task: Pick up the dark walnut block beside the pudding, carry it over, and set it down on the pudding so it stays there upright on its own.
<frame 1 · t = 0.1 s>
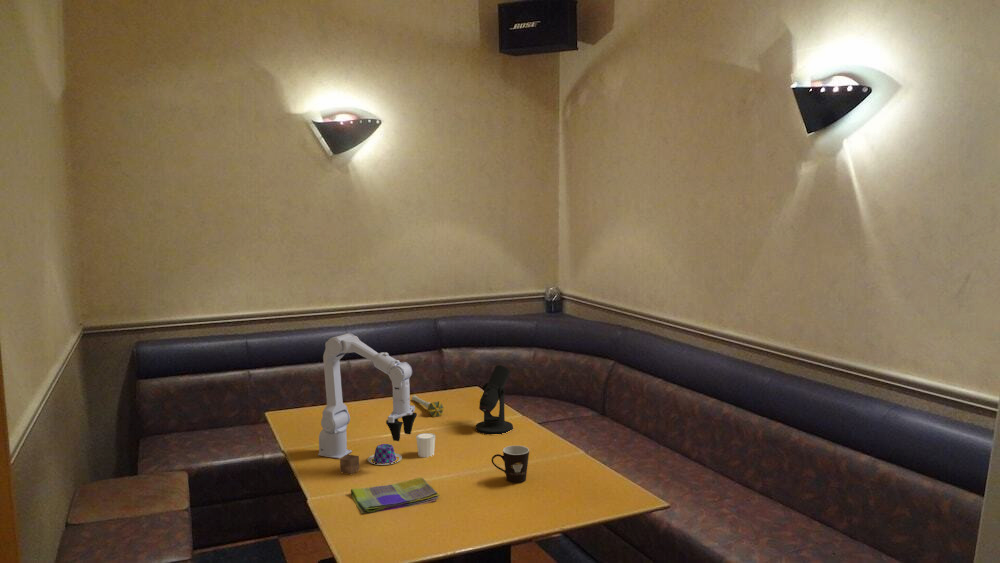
hand: (402, 437, 250), 10 cm above the table, tool pointing down, fingers open, 7 cm apart
light stick: (426, 409, 317), on the table
walnut block: (349, 471, 245), on the table
microphone: (494, 429, 289), on the table
coffee mug: (511, 479, 238), on the table
white tapered cup: (426, 455, 261), on the table
dish towel: (394, 499, 225), on the table
pudding: (384, 461, 256), on the table
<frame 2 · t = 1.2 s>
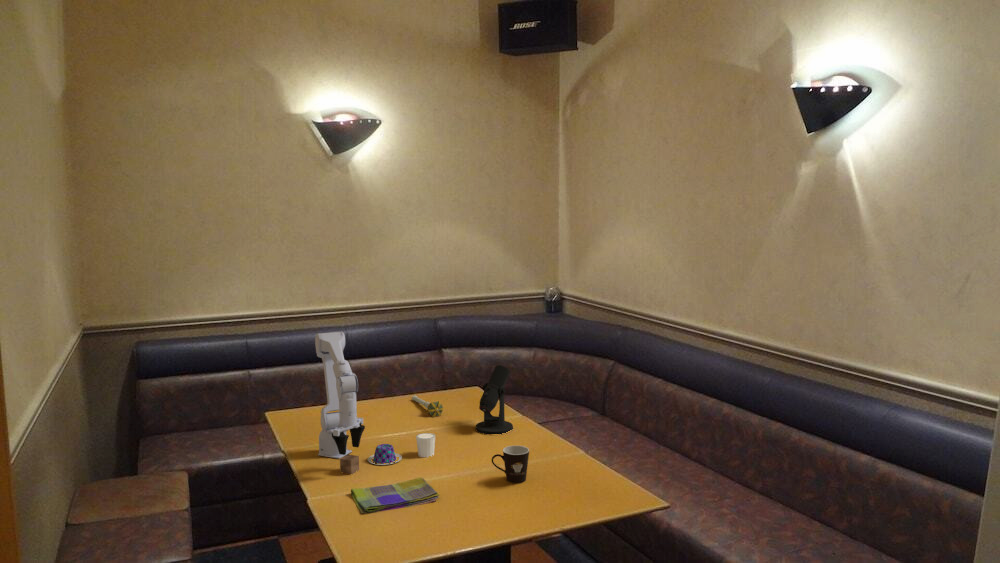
hand: (349, 450, 244), 7 cm above the table, tool pointing down, fingers open, 7 cm apart
nothing on the table moved.
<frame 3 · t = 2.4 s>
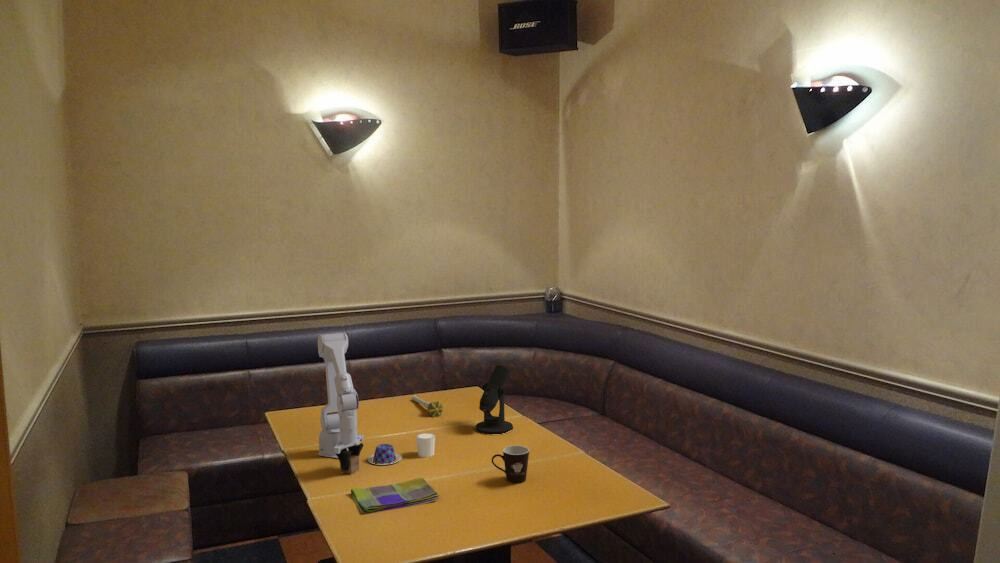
hand: (349, 467, 245), 1 cm above the table, tool pointing down, fingers closed on walnut block, 4 cm apart
walnut block: (349, 471, 245), on the table, touching gripper
everything else where it was.
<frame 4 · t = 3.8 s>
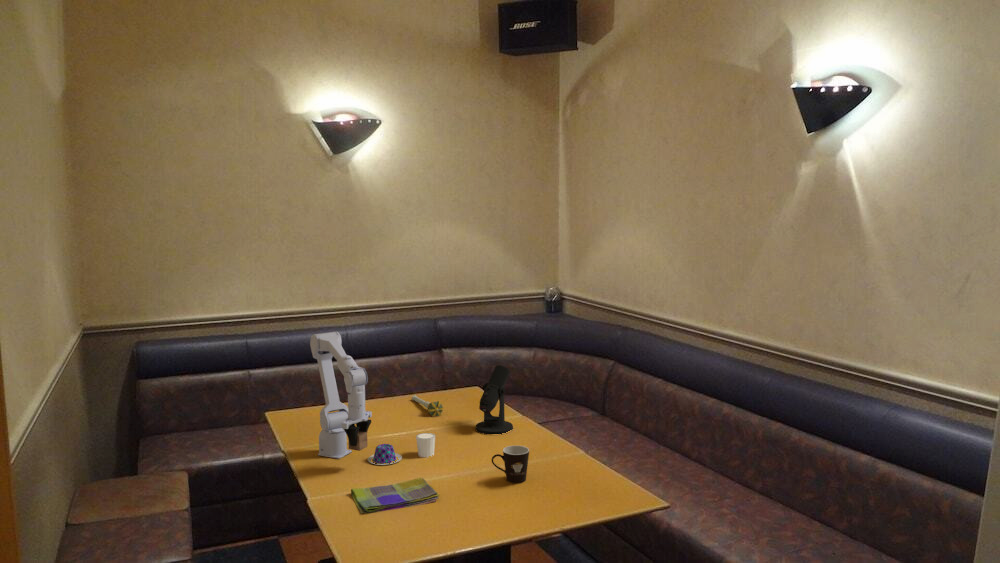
hand: (357, 443, 247), 9 cm above the table, tool pointing down, fingers closed on walnut block, 4 cm apart
walnut block: (358, 447, 247), point 7 cm above the table, touching gripper
everything else where it was.
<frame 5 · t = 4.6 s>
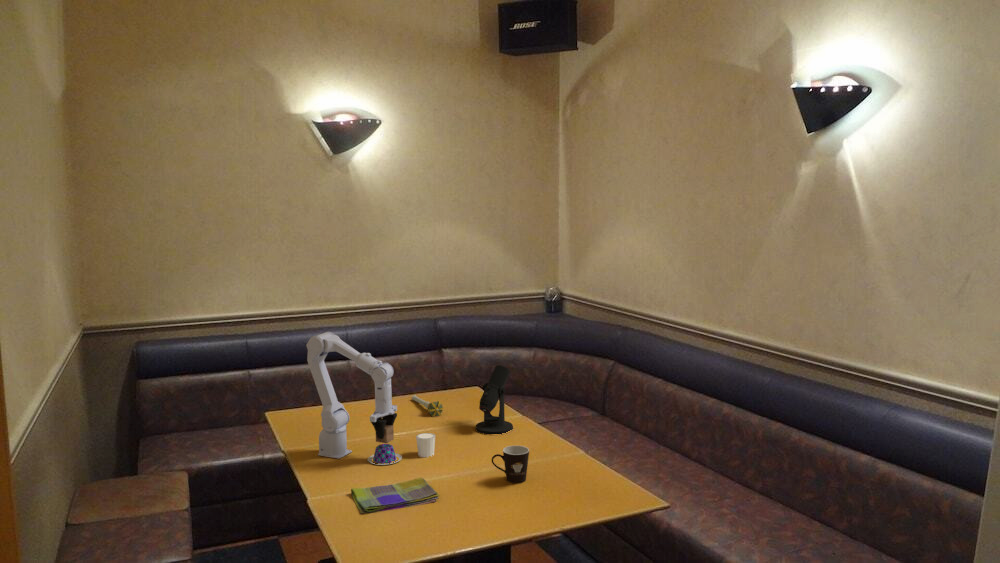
hand: (384, 436, 255), 9 cm above the table, tool pointing down, fingers closed on walnut block, 4 cm apart
walnut block: (384, 440, 255), point 7 cm above the table, touching gripper
everything else where it was.
when the fingers open (7 cm above the table, at t = 5.2 s): walnut block drops 1 cm, point 5 cm above the table.
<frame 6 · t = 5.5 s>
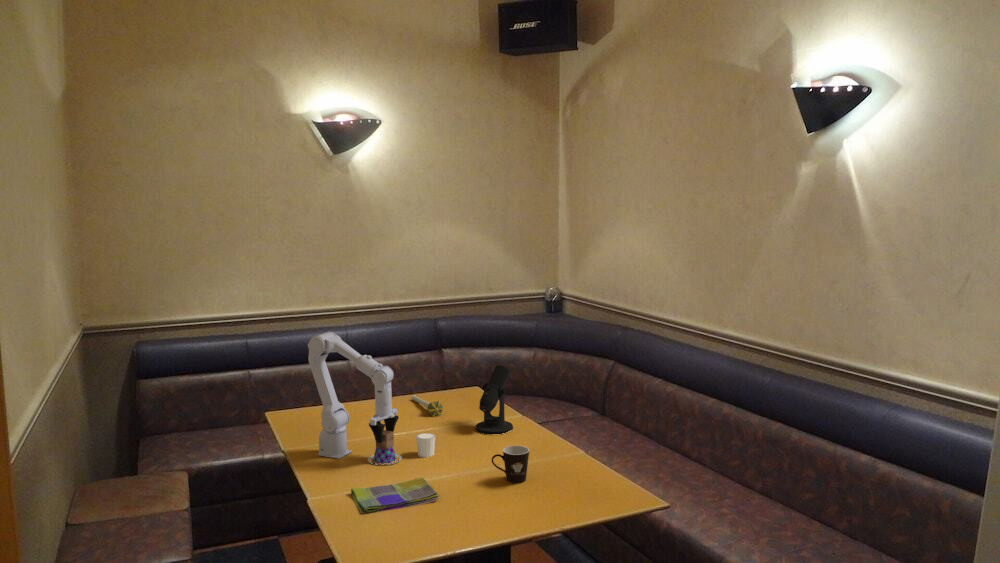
hand: (384, 439, 255), 7 cm above the table, tool pointing down, fingers open, 6 cm apart
walnut block: (384, 446, 256), point 5 cm above the table
everything else where it was.
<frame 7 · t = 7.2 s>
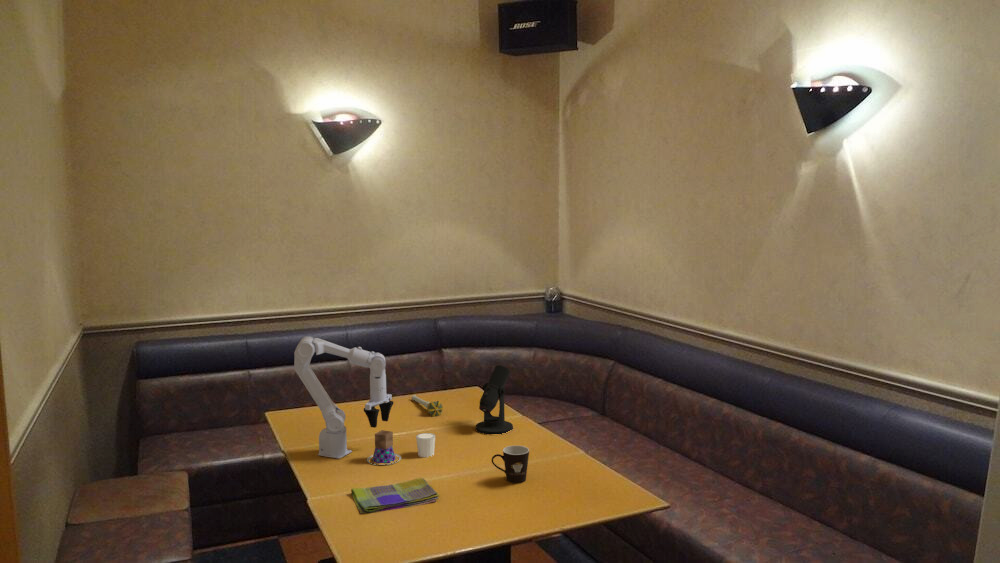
hand: (379, 424, 263), 10 cm above the table, tool pointing down, fingers open, 7 cm apart
walnut block: (384, 446, 256), point 5 cm above the table, touching pudding
pudding: (384, 461, 256), on the table, touching walnut block
everything else where it was.
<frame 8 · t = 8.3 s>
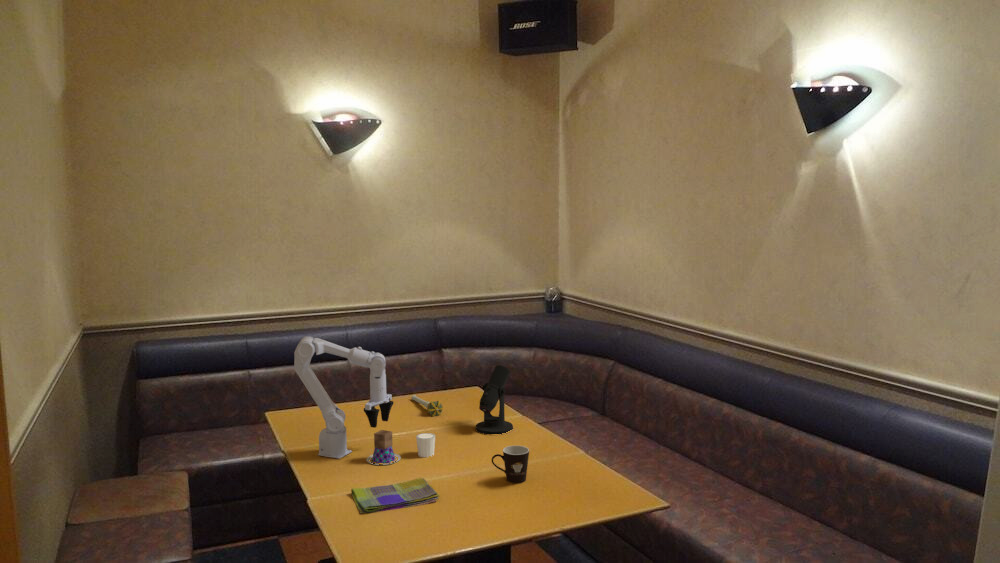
hand: (379, 424, 263), 10 cm above the table, tool pointing down, fingers open, 7 cm apart
nothing on the table moved.
at the end: walnut block touching pudding; walnut block point 4.8 cm above the table; walnut block tilted 0° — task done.
